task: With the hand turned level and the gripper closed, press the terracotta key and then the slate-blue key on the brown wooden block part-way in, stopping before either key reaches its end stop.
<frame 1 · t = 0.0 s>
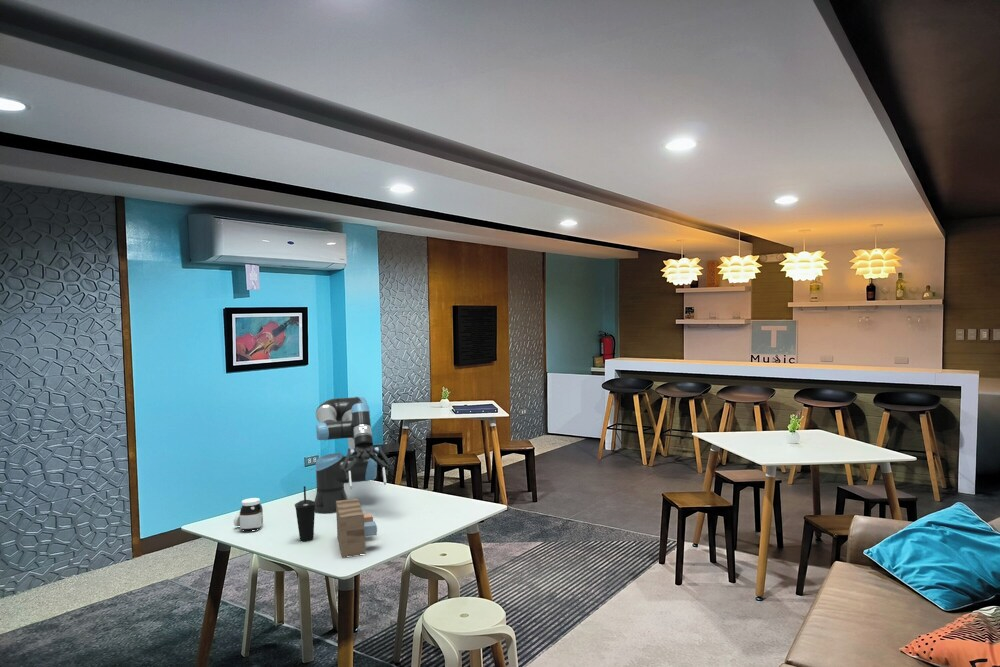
hand: (368, 485, 256), 15 cm above the table, tool tilted 35°, fingers open, 13 cm apart
terracotta key: (364, 520, 237), point 7 cm above the table, slide at 0.0 cm
spread jar: (248, 529, 255), on the table
slate key: (367, 529, 227), point 7 cm above the table, slide at 0.0 cm
drinking cup: (306, 540, 239), on the table
brown wooden block: (339, 547, 229), on the table
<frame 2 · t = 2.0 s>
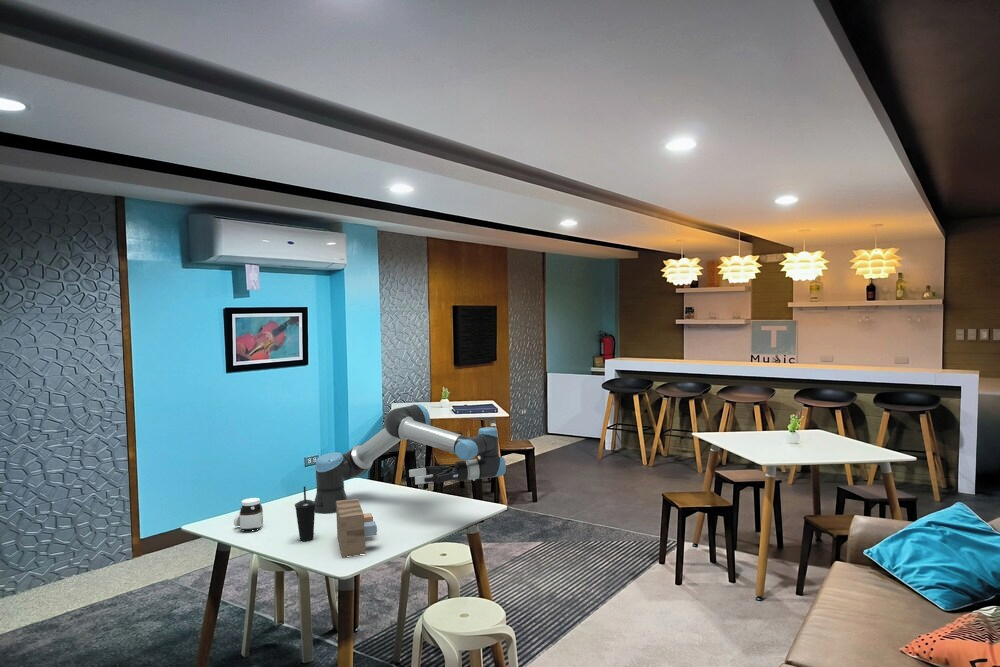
hand: (412, 477, 243), 21 cm above the table, tool horizontal, fingers open, 13 cm apart
nothing on the table moved.
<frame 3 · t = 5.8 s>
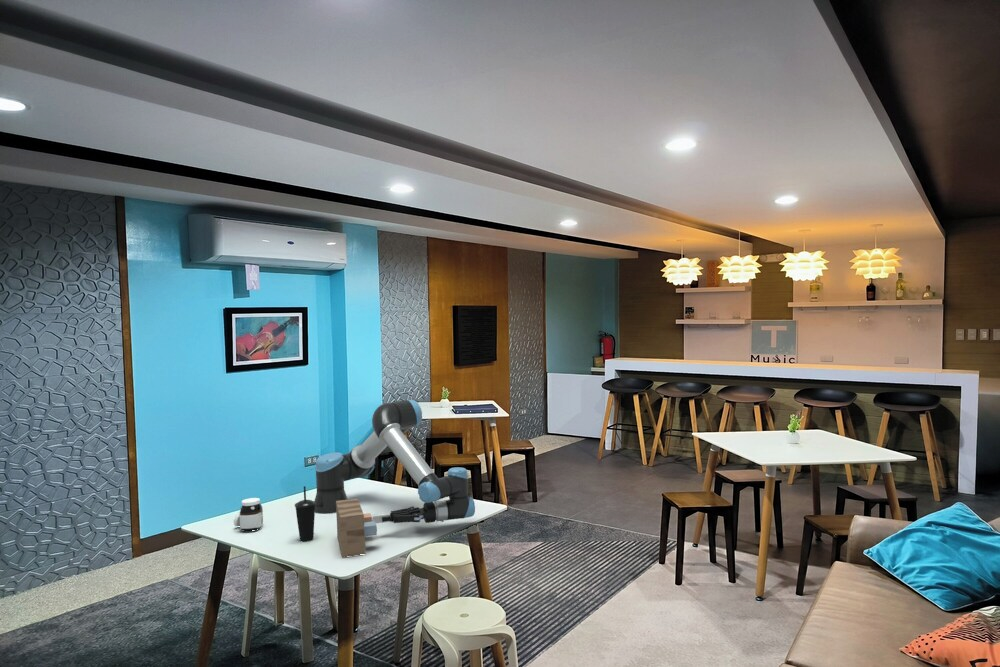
hand: (372, 519, 238), 7 cm above the table, tool horizontal, fingers closed
terracotta key: (363, 520, 237), point 7 cm above the table, slide at 0.4 cm, touching gripper
everything else where it was.
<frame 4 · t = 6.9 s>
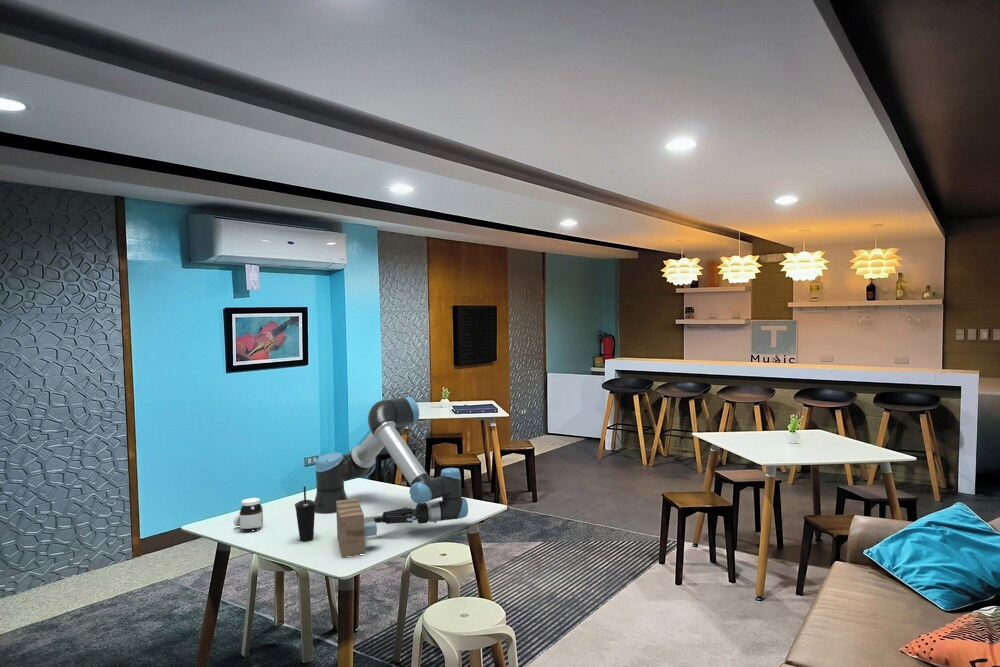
hand: (365, 520, 237), 7 cm above the table, tool horizontal, fingers closed
terracotta key: (355, 521, 236), point 7 cm above the table, slide at 3.1 cm, touching gripper
everything else where it was.
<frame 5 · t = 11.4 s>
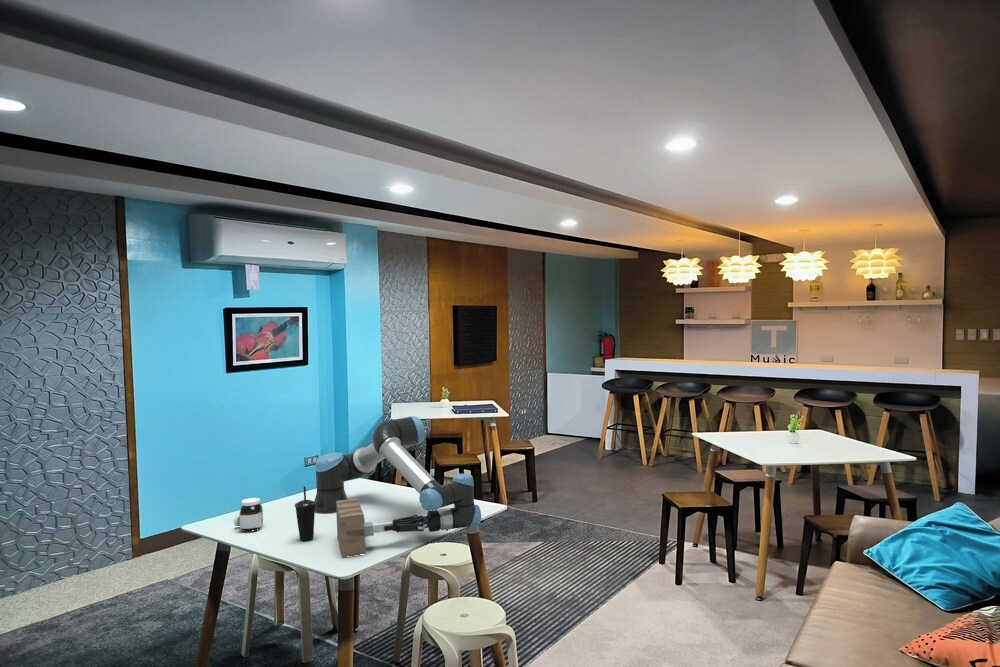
hand: (374, 528, 228), 7 cm above the table, tool horizontal, fingers closed
terracotta key: (355, 521, 236), point 7 cm above the table, slide at 3.1 cm
slate key: (364, 529, 227), point 7 cm above the table, slide at 1.1 cm, touching gripper
everything else where it was.
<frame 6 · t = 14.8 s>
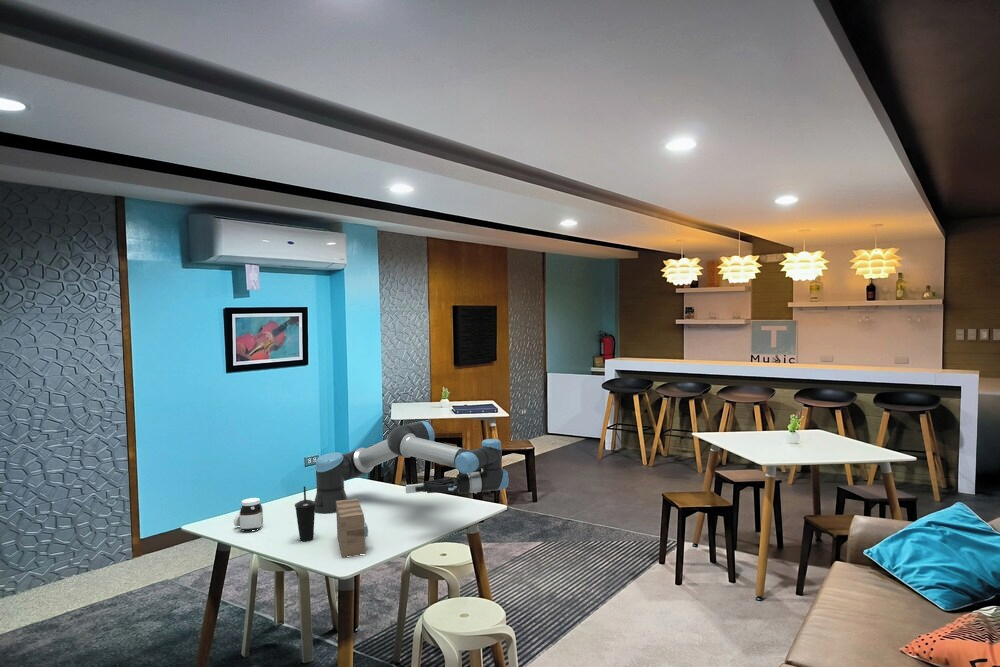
hand: (406, 489, 235), 19 cm above the table, tool horizontal, fingers closed
slate key: (358, 530, 226), point 7 cm above the table, slide at 3.1 cm
everything else where it was.
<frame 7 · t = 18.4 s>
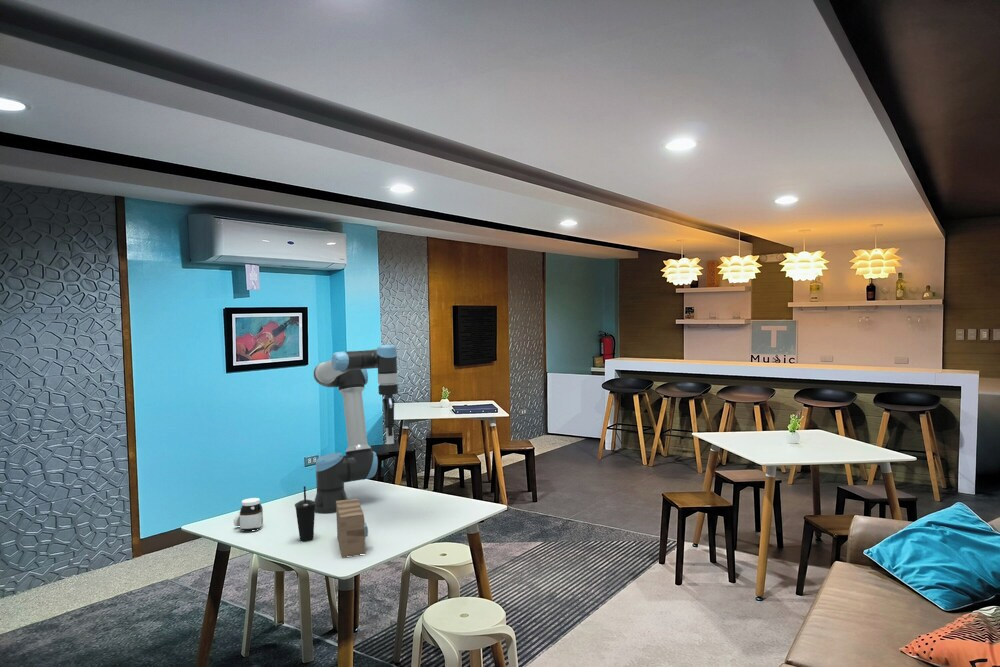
hand: (390, 443, 253), 32 cm above the table, tool pointing down, fingers closed
nothing on the table moved.
at the end: terracotta key slide at 3.1 cm; slate key slide at 3.1 cm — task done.
